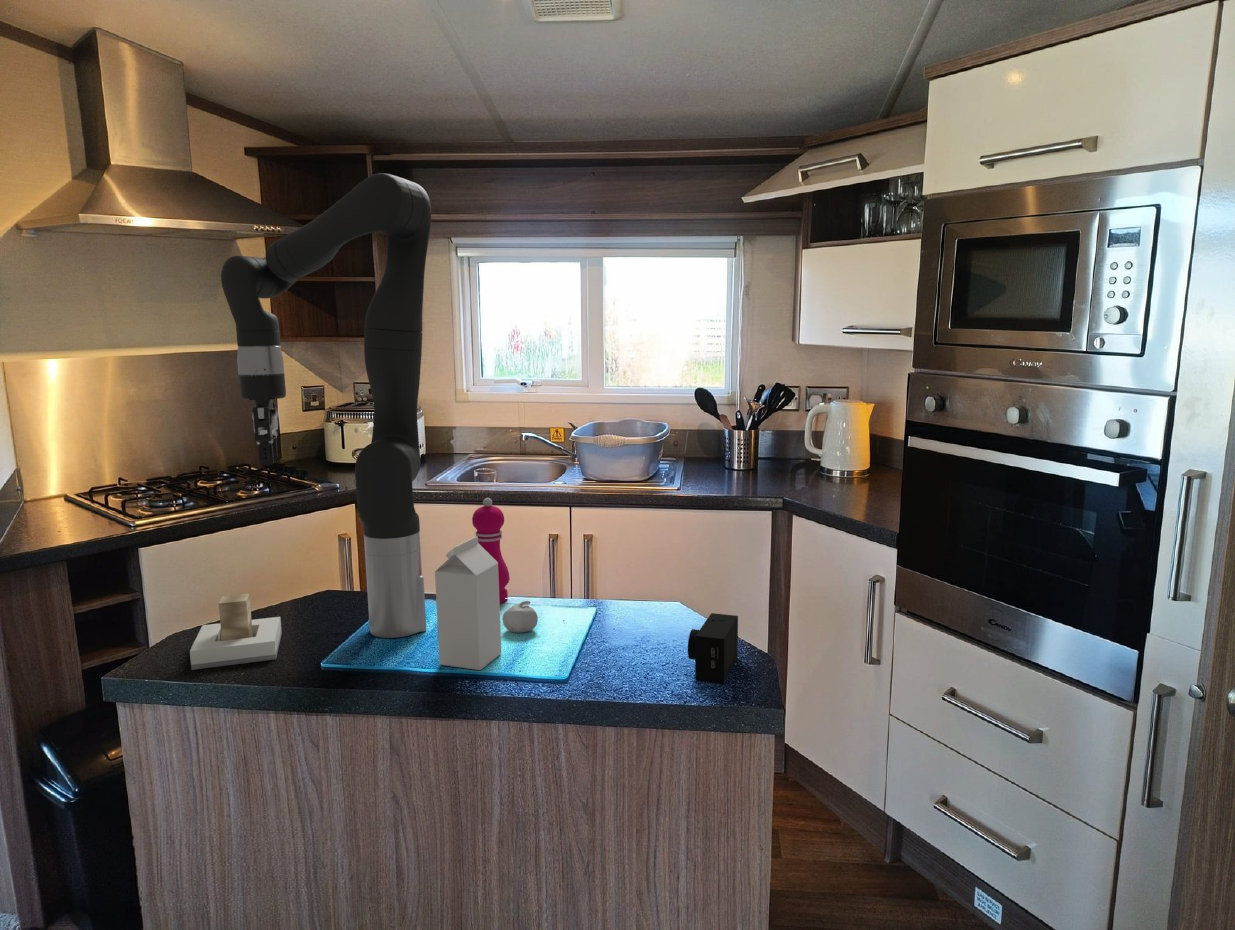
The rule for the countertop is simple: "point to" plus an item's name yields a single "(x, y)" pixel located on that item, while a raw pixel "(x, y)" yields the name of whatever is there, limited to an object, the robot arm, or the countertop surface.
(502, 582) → the pepper mill
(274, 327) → the robot arm
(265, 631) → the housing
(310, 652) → the countertop surface
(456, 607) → the milk carton
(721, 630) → the digital camera
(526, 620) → the garlic
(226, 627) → the block
